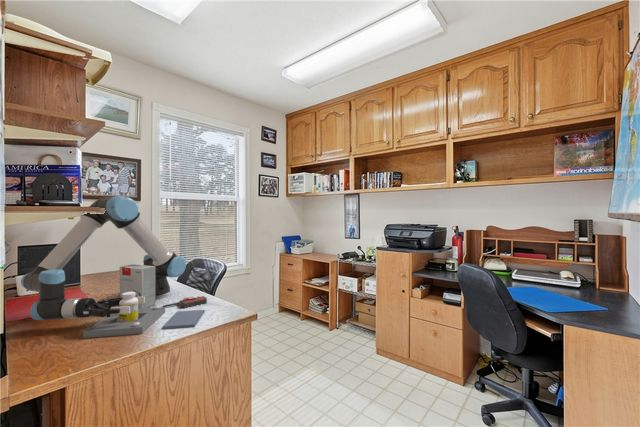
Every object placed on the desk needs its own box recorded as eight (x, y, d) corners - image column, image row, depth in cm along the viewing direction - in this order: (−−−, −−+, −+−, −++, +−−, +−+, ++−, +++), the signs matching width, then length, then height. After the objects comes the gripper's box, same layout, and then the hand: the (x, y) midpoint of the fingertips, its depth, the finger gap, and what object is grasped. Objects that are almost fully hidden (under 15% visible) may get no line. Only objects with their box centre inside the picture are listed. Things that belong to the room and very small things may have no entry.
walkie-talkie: (203, 300, 151) (161, 308, 138) (203, 291, 151) (161, 299, 138) (209, 303, 145) (166, 313, 131) (209, 295, 145) (166, 303, 131)
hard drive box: (119, 307, 140) (118, 266, 140) (133, 302, 147) (133, 264, 147) (142, 310, 135) (142, 268, 135) (156, 305, 142) (156, 265, 142)
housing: (117, 315, 128) (117, 307, 128) (165, 312, 131) (165, 304, 131) (83, 338, 104) (83, 328, 104) (142, 333, 108) (142, 324, 108)
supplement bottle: (115, 325, 116) (115, 294, 117) (132, 319, 122) (132, 290, 122) (124, 328, 113) (124, 296, 113) (141, 322, 119) (141, 292, 119)
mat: (176, 313, 130) (177, 311, 130) (204, 311, 132) (204, 309, 132) (162, 329, 112) (162, 326, 112) (194, 326, 114) (194, 324, 114)
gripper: (98, 307, 127) (149, 304, 131) (57, 329, 102) (122, 324, 106) (98, 290, 127) (149, 288, 131) (57, 308, 102) (122, 304, 106)
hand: (137, 304), depth 118 cm, fingers open, 13 cm apart
